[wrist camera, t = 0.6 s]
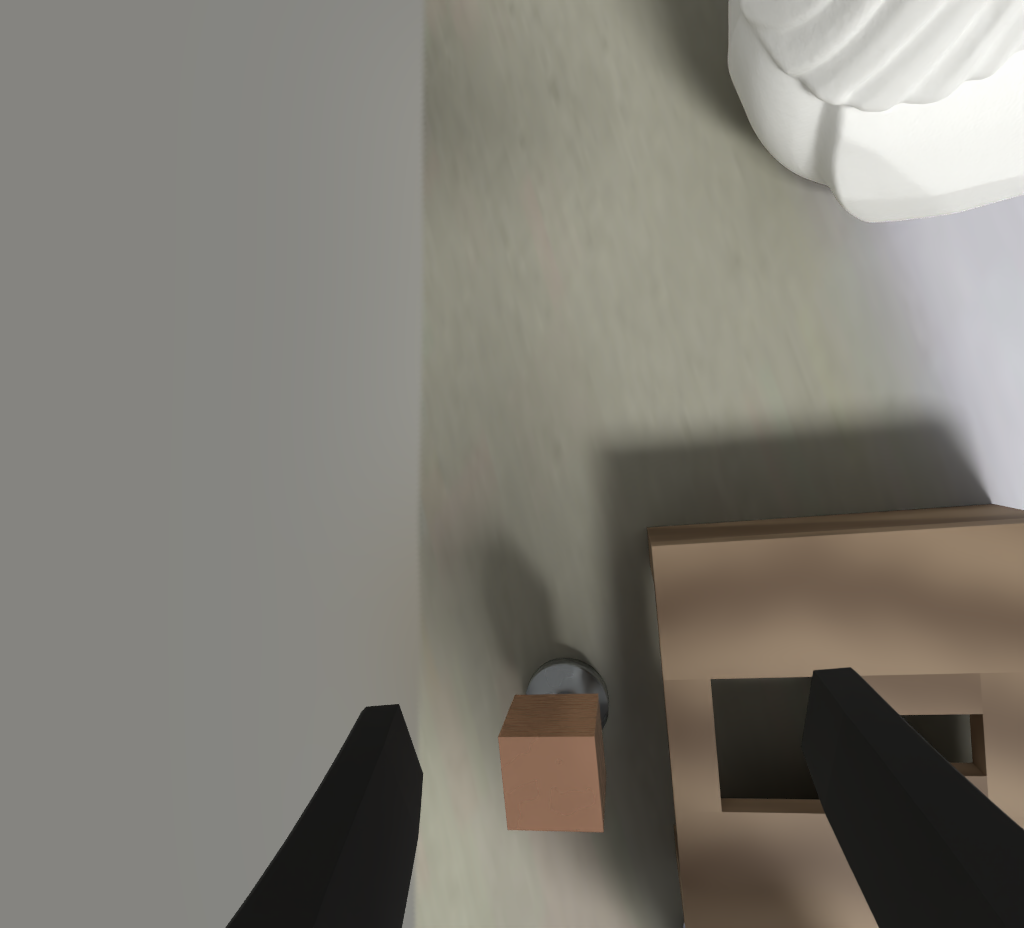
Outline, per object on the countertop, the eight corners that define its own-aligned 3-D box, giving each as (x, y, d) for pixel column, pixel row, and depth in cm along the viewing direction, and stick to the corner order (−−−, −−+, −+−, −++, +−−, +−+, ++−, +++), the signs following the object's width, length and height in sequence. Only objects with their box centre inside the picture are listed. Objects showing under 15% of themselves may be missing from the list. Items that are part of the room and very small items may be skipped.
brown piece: (612, 737, 32) (609, 836, 24) (531, 737, 33) (503, 834, 25) (604, 656, 32) (599, 731, 24) (523, 659, 33) (493, 732, 25)
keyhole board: (1016, 872, 29) (1096, 962, 24) (676, 860, 32) (686, 939, 27) (992, 504, 28) (1071, 520, 23) (646, 527, 31) (651, 546, 26)
